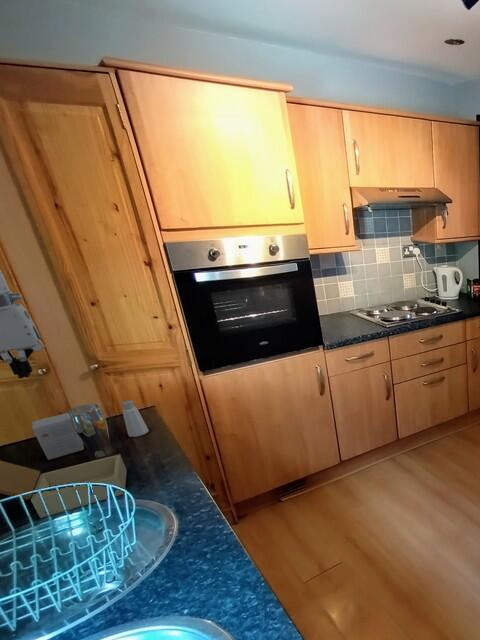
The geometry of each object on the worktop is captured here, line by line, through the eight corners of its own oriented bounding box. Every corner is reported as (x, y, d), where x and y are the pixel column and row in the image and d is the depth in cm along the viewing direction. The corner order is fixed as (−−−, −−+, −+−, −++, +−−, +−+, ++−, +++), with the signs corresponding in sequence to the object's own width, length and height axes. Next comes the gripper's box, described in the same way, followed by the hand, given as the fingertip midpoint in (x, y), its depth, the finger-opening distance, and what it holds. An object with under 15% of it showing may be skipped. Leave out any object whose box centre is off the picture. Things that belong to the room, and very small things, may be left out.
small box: (83, 442, 136) (69, 412, 132) (84, 449, 133) (70, 418, 129) (46, 452, 131) (31, 421, 127) (47, 460, 128) (31, 428, 123)
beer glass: (89, 464, 126) (68, 417, 120) (85, 455, 130) (64, 409, 124) (121, 454, 131) (102, 408, 124) (115, 446, 135) (97, 401, 129)
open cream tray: (126, 470, 123) (120, 454, 121) (124, 493, 114) (117, 476, 112) (49, 491, 115) (40, 474, 113) (40, 518, 106) (30, 500, 103)
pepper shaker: (151, 427, 145) (140, 396, 141) (146, 435, 141) (134, 403, 136) (130, 430, 143) (118, 399, 139) (125, 438, 139) (112, 406, 134)
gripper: (38, 294, 109) (68, 365, 116) (-54, 303, 101) (-15, 378, 108) (32, 300, 103) (64, 374, 111) (-66, 309, 95) (-24, 388, 103)
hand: (25, 376), depth 109 cm, fingers closed
